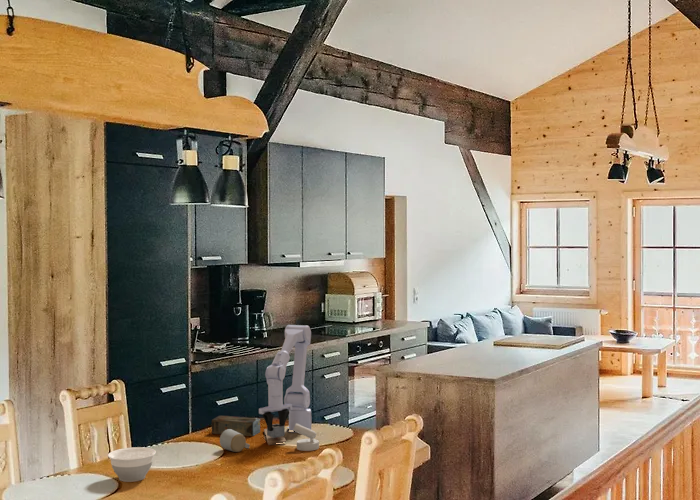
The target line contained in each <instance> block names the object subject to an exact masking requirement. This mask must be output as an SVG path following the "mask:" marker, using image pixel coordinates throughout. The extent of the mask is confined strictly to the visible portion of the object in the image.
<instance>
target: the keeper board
mask: <svg viewBox="0 0 700 500" xmlns="http://www.w3.org/2000/svg"><path fill="white" fill-rule="evenodd" d="M263 433H264V436H265V435H266V436H265V439H266V438H267V440H266V441H267V445H268V446H273V445H274V446H276V443H283V442H286V443H287V440H286V438H285V436H281V437H276V438H273V437H270V436H267V428H264V429H263Z"/></svg>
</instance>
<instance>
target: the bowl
mask: <svg viewBox="0 0 700 500" xmlns="http://www.w3.org/2000/svg"><path fill="white" fill-rule="evenodd" d="M156 453H157V451H156V450H155V449H153V448H151V447H143V446H142V447H141V446H137V447H136V446H135V447H131V446H130V447H125V448H119V449H115V450H112V451H111V452H109V453H108V454H107V458H109V459H110V464H111V468H112V469H113V472H114V473H115V475H116V476H117V477H118V479H119V481H121V482H124V483H128V482H129V483H132V482H140V481H142V480H144V479H146V475H147V474H148V472H149V471H150V469H151V467H152V464H153V460H154V458H153V457H154V456H155V455H156Z"/></svg>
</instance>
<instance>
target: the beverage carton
mask: <svg viewBox="0 0 700 500" xmlns="http://www.w3.org/2000/svg"><path fill="white" fill-rule="evenodd" d="M210 424H211V434H214V435H215V434H217V435H221V434H222V433H223V432H224V431H225V430H227V429H232V430H234V431H236V432H238V433H241V434H242V435H243V436H244V437H245V436H246V437H254V436H255V435H258V434H259V433H260V432H261V418H258V417H246V416H245V417H244V416H234V415H233V416H232V415H231V416H230V415H218V416H216V417H214V418H213V419H211V423H210Z"/></svg>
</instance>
